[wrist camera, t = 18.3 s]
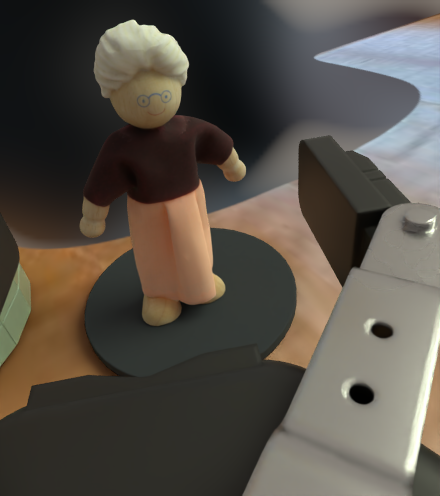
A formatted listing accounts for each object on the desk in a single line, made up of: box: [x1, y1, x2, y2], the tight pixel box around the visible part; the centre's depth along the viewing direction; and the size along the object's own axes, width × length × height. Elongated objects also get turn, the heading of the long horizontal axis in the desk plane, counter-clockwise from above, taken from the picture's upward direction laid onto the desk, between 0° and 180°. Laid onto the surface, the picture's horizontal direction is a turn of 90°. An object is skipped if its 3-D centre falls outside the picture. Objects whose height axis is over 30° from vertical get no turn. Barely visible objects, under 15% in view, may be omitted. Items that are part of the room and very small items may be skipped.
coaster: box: [85, 228, 296, 377], centre depth 22 cm, size 11×11×1 cm
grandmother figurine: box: [80, 20, 246, 326], centre depth 18 cm, size 8×4×13 cm, turn 129°
